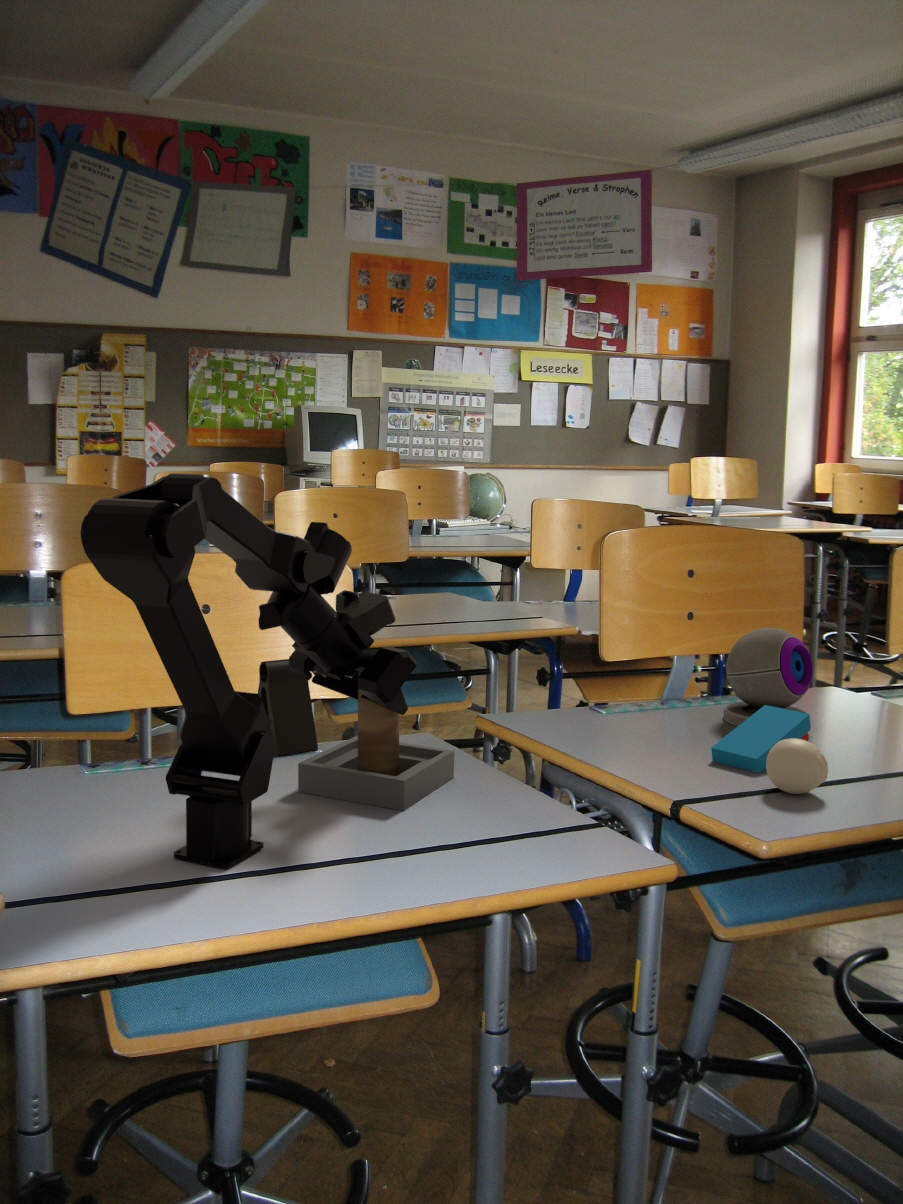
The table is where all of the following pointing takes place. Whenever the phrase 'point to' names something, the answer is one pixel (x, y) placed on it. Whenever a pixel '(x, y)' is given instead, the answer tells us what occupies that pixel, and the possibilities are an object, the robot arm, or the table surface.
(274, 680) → the door stopper
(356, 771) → the box
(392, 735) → the walnut peg
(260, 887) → the table surface
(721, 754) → the teal long block
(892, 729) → the table surface
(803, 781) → the beige ball
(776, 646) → the webcam
